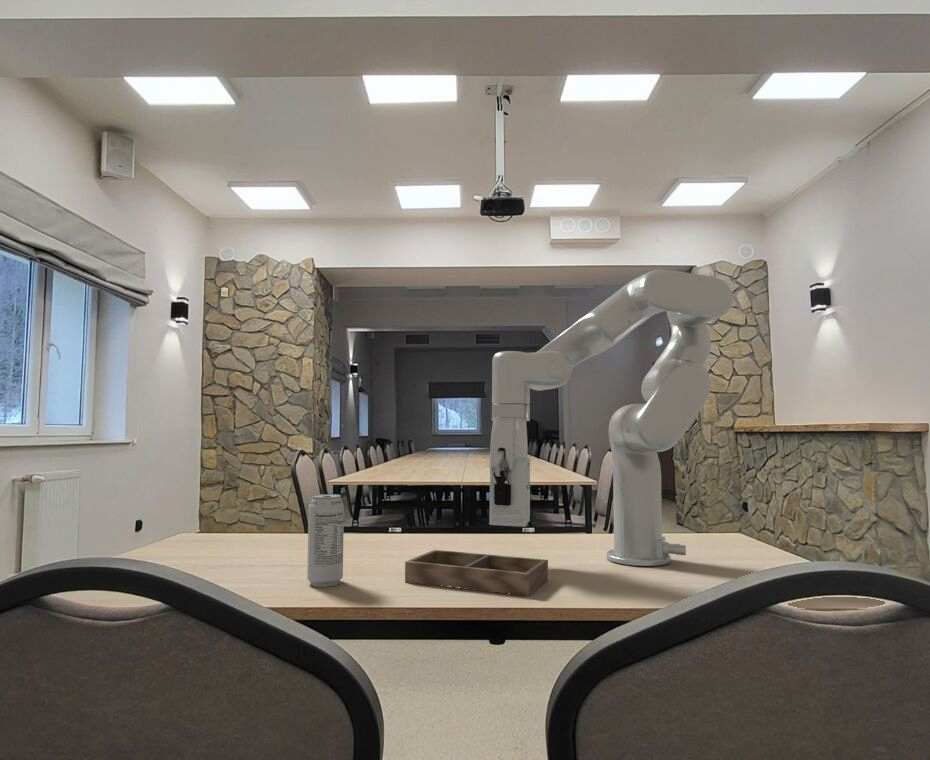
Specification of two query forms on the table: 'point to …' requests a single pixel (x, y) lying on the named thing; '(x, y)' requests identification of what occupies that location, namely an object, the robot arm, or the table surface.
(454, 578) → the frame
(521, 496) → the supplement box
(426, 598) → the table surface
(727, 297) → the robot arm
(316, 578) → the energy drink can
